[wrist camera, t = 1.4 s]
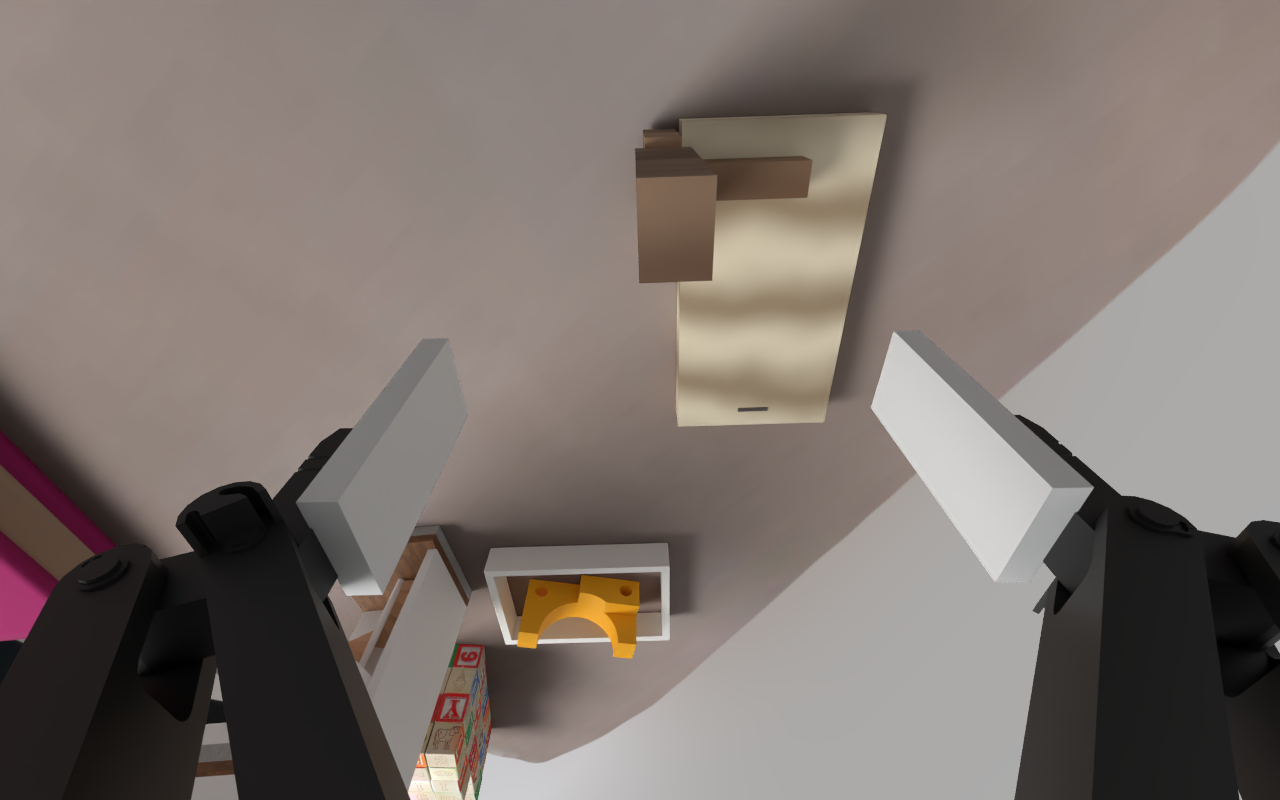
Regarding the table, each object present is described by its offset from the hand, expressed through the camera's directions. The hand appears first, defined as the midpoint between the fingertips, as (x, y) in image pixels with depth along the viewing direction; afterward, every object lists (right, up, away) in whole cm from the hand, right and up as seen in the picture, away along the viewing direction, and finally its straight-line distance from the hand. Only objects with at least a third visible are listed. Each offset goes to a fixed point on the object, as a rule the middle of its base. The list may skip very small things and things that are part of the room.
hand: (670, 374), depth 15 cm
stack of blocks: (-24, -40, +52) cm, 70 cm away
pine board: (+8, +8, +22) cm, 25 cm away
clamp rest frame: (-7, -21, +40) cm, 46 cm away
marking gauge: (+4, +14, +17) cm, 23 cm away
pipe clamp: (-7, -22, +41) cm, 47 cm away
